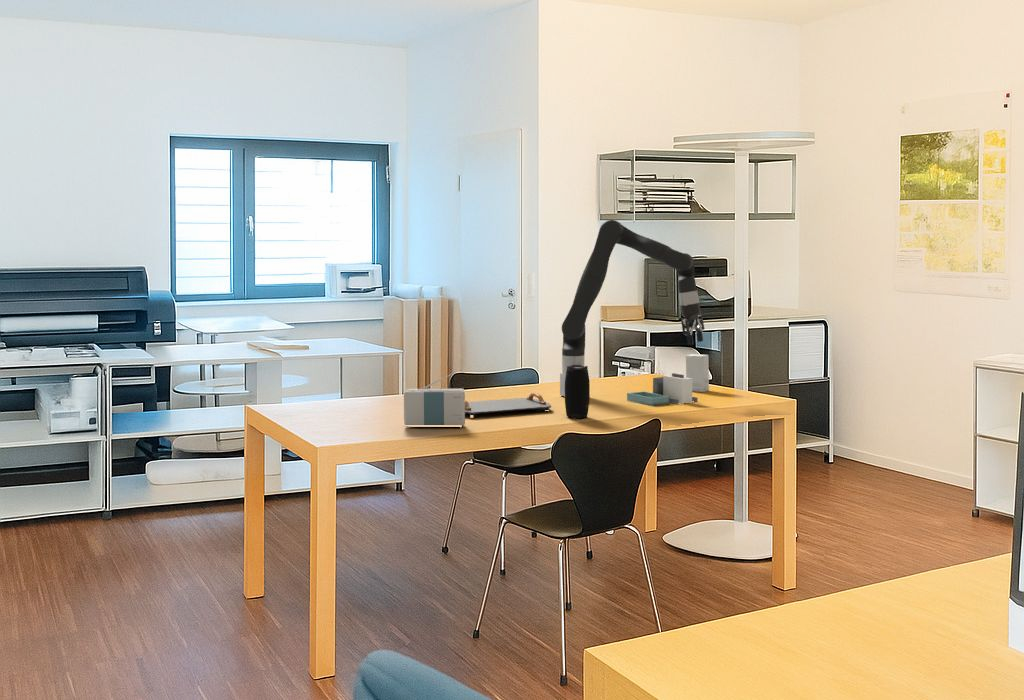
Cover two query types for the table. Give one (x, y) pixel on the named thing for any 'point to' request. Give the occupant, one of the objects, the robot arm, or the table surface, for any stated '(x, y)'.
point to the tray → (648, 398)
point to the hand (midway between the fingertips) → (695, 343)
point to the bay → (659, 390)
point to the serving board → (506, 405)
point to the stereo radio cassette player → (434, 406)
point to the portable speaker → (577, 391)
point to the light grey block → (678, 387)
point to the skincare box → (698, 371)
